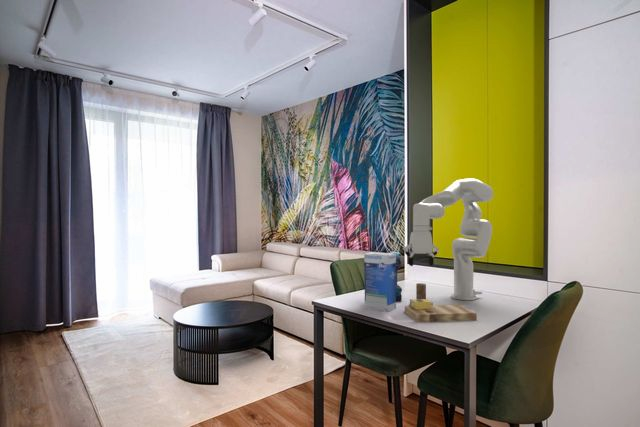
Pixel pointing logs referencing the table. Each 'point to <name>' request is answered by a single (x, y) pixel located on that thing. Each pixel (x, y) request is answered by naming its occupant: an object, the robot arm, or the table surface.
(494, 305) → the table surface
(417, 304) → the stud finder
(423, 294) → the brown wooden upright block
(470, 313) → the wooden pallet
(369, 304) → the string lights box
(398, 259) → the impact wrench
